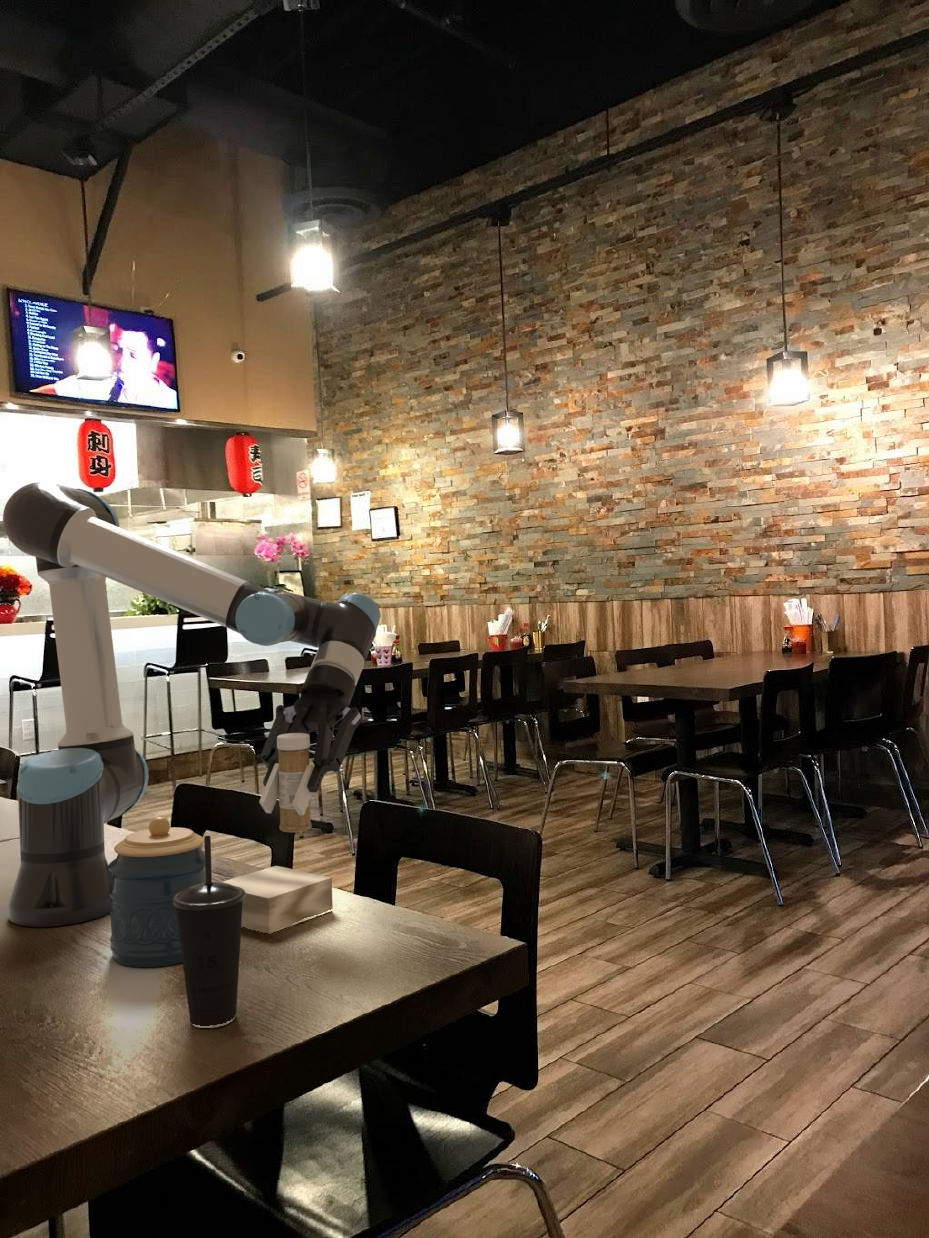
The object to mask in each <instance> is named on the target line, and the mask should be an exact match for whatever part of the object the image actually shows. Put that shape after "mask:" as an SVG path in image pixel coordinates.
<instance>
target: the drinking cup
mask: <svg viewBox="0 0 929 1238" xmlns="http://www.w3.org/2000/svg"><path fill="white" fill-rule="evenodd" d="M211 837H212V836H211V835H204V837H203V838H204V844H203V845H204V851H205V879H206V882H204V883H200V884H196V885H193V886H191V887H189V888H187V889H186V890H184V891H182V892H180V893H178V894H176V895H175V896H174V897H173V899H172V901H173V905H174V906H175V907H176V914H177V921H178V929H179V937H180V945H181V953H182V961H183V962H182V967H183V975H184V984H185V991H186V998H187V1006H188V1014H189V1016H188V1017H189V1023H190V1022H191V1023H192V1024H195V1025H200V1026H210V1025H217V1024H223V1023H226V1022H227V1021H230V1020H231V1019H233V1018H234V1017H235V1015H236V1016H237V1009H238V1008H237V1007H238V1006H237V1005H238V991H239V989H238V988H239V973H240V971H239V970H240V954H241V953H240V952H241V940H242V939H241V937H242V927H241V923H242V905H243V899H244V898H245V890H244V889H242V888H240V887H237V886H233V885H231V884H228V883H224V882H223V881H213V874H212V868H213V867H212V860H211V857H212V838H211ZM191 1023H190V1024H191Z"/></svg>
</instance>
